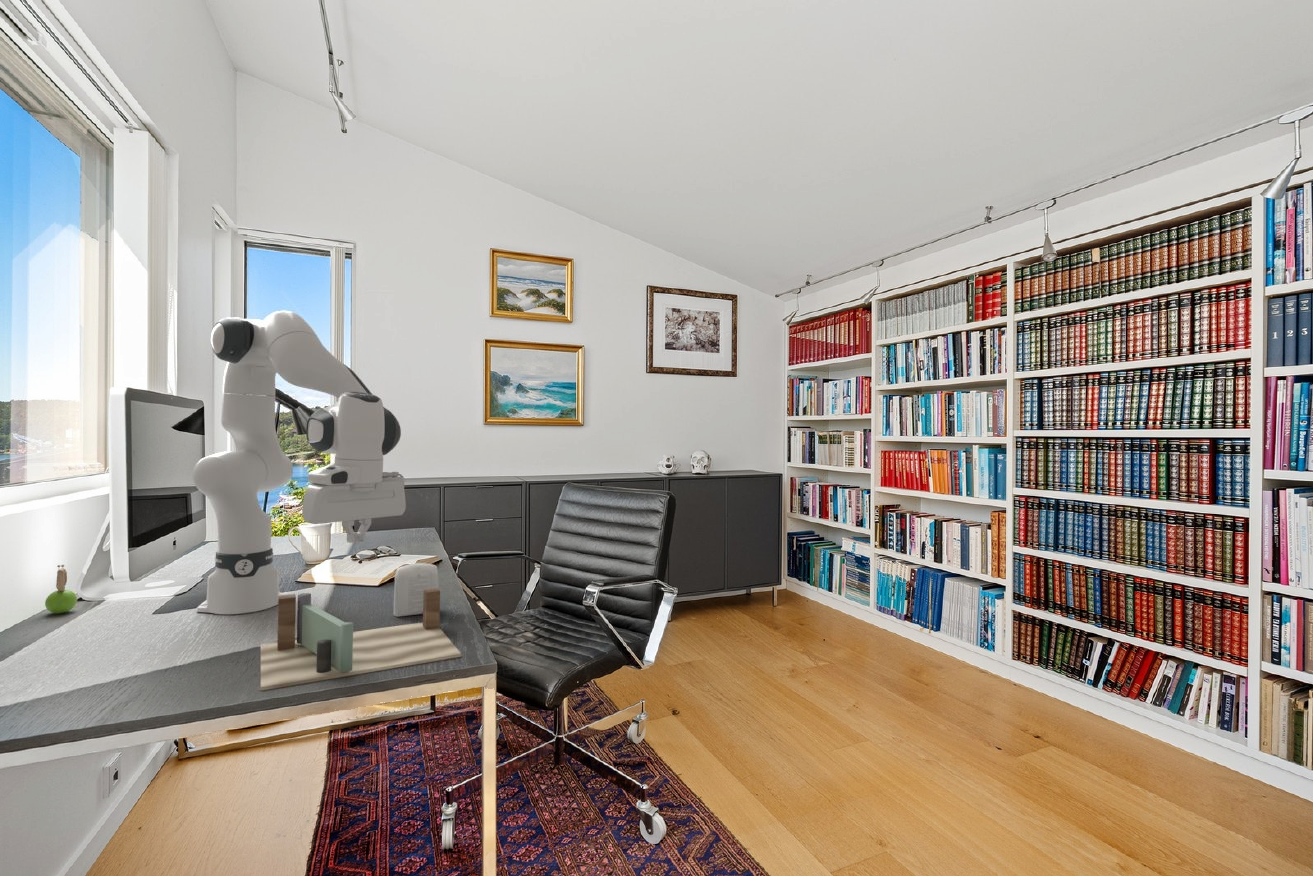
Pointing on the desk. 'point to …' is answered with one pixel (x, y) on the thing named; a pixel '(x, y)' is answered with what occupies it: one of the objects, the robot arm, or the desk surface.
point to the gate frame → (370, 647)
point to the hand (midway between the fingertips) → (355, 541)
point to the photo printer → (413, 587)
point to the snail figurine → (61, 595)
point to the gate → (324, 632)
